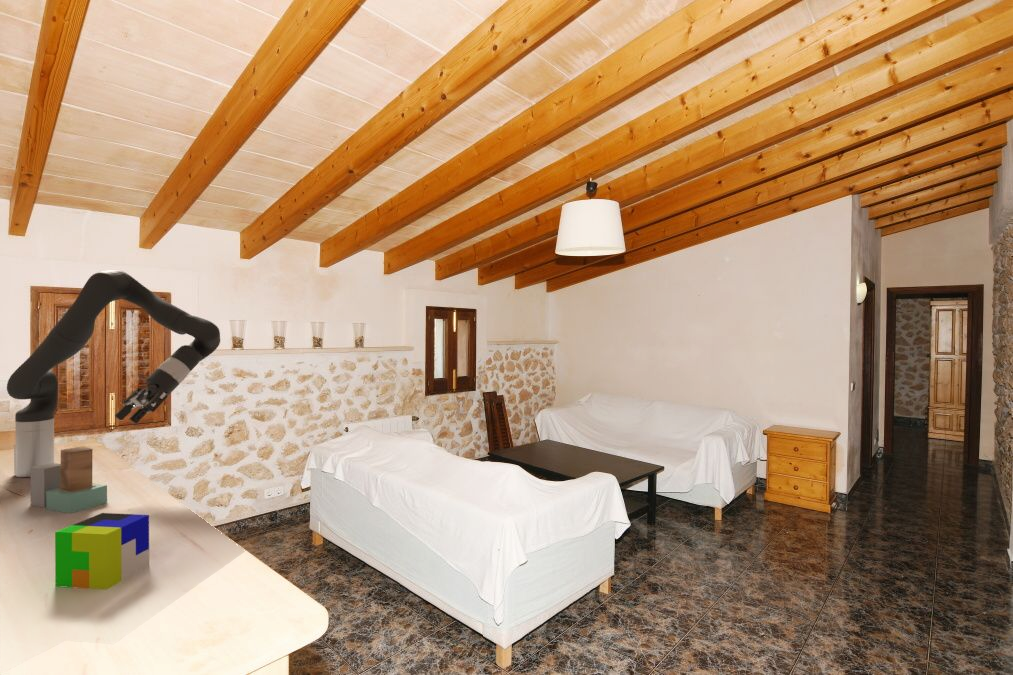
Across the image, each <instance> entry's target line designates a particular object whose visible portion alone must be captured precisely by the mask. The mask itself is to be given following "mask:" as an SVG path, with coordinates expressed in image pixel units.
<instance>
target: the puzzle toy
mask: <svg viewBox="0 0 1013 675" xmlns="http://www.w3.org/2000/svg"><path fill="white" fill-rule="evenodd" d="M54 543H55V544H54V549H55V550H54V553H55V554H54V560H55V561H54V563H55V566H54V567H55V568H54V569H55V570H54V572H55V577H54V578H55V581H54V582H55V584H54V585H55V587H57V586H67V587H66V588H73V587H77V588H78V589H90V588H91V590H95V589H96V590H108V589H110V588H111V587H113V586H115V585H117V584H118V583H120V582H122V581H124V580H125V579H127V578H129V577H131V576H132V575H134V574H136V573H138V572H140V571H141V570H143V569H144V568H146V567H148V566H150V515H149V514H132V513H112V512H102V513H98V514H96V515H94V516H92V517H89V518H87V519H84V520H81V521H79V522H77V523H74V524H70V525H69V526H67V527H64V528H61V529H59V530H57V531H54ZM77 588H76V589H77Z"/></svg>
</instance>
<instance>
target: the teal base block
mask: <svg viewBox="0 0 1013 675" xmlns="http://www.w3.org/2000/svg"><path fill="white" fill-rule="evenodd" d="M106 502H107V503H108V485H107V484H103V483H101V484H100V483H94V482H92V487H88V488H83V489H79V490H74V491H67V490H64V489H62V488H57V489H53V490H49V491H46V507H45V509H46V510H49V511H54V512H55V511H56V512H61V513H67V514H73V513H77V512H80V511H82V510H86V509H89V508H93V507H96V506H99V505H104V504H106Z"/></svg>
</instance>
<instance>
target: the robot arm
mask: <svg viewBox="0 0 1013 675" xmlns="http://www.w3.org/2000/svg"><path fill="white" fill-rule="evenodd" d="M120 300H124V301H127V302H129V303H131V304H134V305H137V306H138V307H139V308H141V309H142V310H144V311H145V313H147V314H148V315H149V316H150V317H151V318H152V319H153V320H154V321H155V322H156V323H157V324H159V325H161V326H162V327H164V328H166V329H168V330H170V331H172V332H173V333H176V334H178V335H186V334H187V335H188V336H191V337H193V338H194V340H193V341H192V342H190V343H189V344H188V345H187V344H185V345H181V346H180V347H179V348H178V349H176V350H175V351H174V352H173V353H172V355H171V356H169V357H168V358H167V359H165V360H164V361H163V362H162V363H161V364H160V365H159V366H158V367H157V368H156V369H155V370H153V372H152V373H151V374H150V375H148V376H147V378H146V379H145V383H146V387H144V388H141V386H139V387H137V388H136V389H135V390H133V392H132V393H131V394H130V395H129V396H128V397H127V398H126V399H124V400H123V402H122V403H123V406H122V407H121V409H119V410H118V412H116V414H114V418H116V419H118V420H119V421H123V420H124V419H126V417H128V415H129V414H130V413H131V412H132V411H133V410H134V409H136V408H137V407H139V408H137V410H135V412H134V413H133V414H132V415H131V416H130V417H129V418H128V419H129V420H130V422H132V423H133V424H137V423H139V422H140V421H141V420H142V419H143V418H144V417H145V415H146V414H150V413H151V412H152V413H154V412H155V411H156V410H157V409H158V408H159V407H160V406H161V405H162V403H163V402H165V400H166V399H167V398H168V397H169V396H170V395H171V394H172V392H173V391H175V389H177V387H179V385H181V383H183V381H184V380H185V379H186V378H187V376H188V375H189V374H190V372H192V371H193V370H194V368H195V367H197V365H199V363H200V362H201V361H203V360H205V359H206V358H208V357H209V356H210V355H211V354H212V353H214V352H215V351H216V350H217V349H218V347H219V346H220V344H221V332H220V329H219V327H218V325H216V324H215V323H213V322H212V321H210V320H208V319H205V318H202V317H199V316H195V315H192V314H190V313H188V312H187V311H185V310H183V309H181V308H179V307H178V306H176V305H173V304H172V303H170V302H168V301H166V300H165V299H163V298H162V297H160V296H159V295H157V294H155V293H154V292H153V291H152V290H150V289H148V288H147V287H146V286H144V285H143V284H142V283H140V282H139V280H137V279H135V277H132V276H131V275H130V274H129V273H127V272H125V271H122V270H117V269H112V270H102V271H98V272H95V273H93V274H92V275H91V276H89V278H88V279H87V281H86V282H85V284H84V286H83V287H82V289H81V290H80V292H79V294H78V295H77V297H76V299H75V300H74V302H73V303H72V305H70V306H69V308H68V309H67V311H66V312H64V314H63V315H62V317H61V318H60V319H59V320H58V322H57V323H56V324H55V325H54V326H53V328H52V329H51V330H50V331H49V333H48V334H47V335H46V337H45V338H44V339H43V341H42V342H41V343H40V344H39V346H38V347H37V348H36V349H35V350H34V351H33V353H31V354H30V356H29V357H28V358H26V360H25V361H24V362H23V363H22V364H21V365H19V367H18V368H17V369H16V370H14V371H13V373H12V374H11V375H10V376H9V379H8V381H7V383H6V391H7V394H8V395H9V396H10V397H11V398H13V399H15V400H30V402H29V403H28V404H27V405H26V406H24V407H23V408H22V409H20V410H17V411H16V412H15V416H14V419H15V420H14V421H15V427H14V428H15V444H14V445H13V456H14V458H13V465H14V466H13V469H14V470H13V471H14V472H13V473H14V475H15V477H17V478H31V467H35V466H40V465H44V464H49V463H55V412H56V410H57V407H58V396H59V395H58V393H59V382H58V377H57V375H56V373H55V372H54V371H53V370H52V369H53V368H55V367H56V366H58V365H59V364H61V363H63V362H65V361H67V360H69V359H70V358H72V357H74V356H75V355H76V354H78V353H79V352H80V351H81V350H82V349H83V347H84V346H85V345H86V344H87V343H88V342H89V341H90V339H91V337H92V336H93V333H94V331H95V324H96V319H97V318H98V316H99V315H100V313H101V312H102V311H103V310H104V309H105V308H106V307H107V306H108V305H109V304H110V303H111V302H116V301H120Z"/></svg>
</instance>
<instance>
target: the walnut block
mask: <svg viewBox="0 0 1013 675" xmlns="http://www.w3.org/2000/svg"><path fill="white" fill-rule="evenodd" d="M60 464H61V488H62V489H64V490H67V491H74V490H79V489H83V488H88V487H92V483H93V448H91V447H87V446H84V445H83V446H77V447H71V448H65V449H61V450H60Z"/></svg>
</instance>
